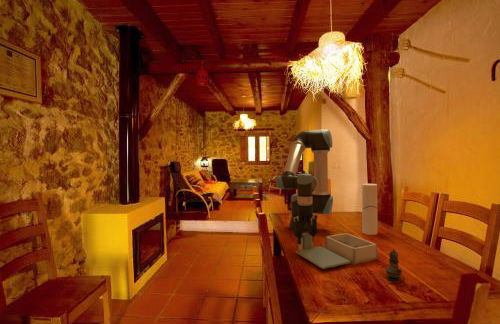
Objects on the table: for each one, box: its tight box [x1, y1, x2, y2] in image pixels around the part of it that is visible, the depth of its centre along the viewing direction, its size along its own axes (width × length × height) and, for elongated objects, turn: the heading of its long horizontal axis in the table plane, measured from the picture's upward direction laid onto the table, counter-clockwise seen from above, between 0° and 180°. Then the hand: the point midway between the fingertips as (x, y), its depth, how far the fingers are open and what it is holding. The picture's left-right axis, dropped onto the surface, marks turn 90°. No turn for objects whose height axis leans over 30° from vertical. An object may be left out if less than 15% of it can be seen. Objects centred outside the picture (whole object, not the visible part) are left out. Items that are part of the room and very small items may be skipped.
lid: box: [295, 232, 351, 270], centre depth 128 cm, size 26×15×9 cm, turn 22°
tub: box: [324, 232, 378, 265], centre depth 132 cm, size 20×14×7 cm
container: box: [361, 183, 379, 236], centre depth 166 cm, size 9×9×30 cm
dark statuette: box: [385, 248, 403, 283], centre depth 106 cm, size 6×6×12 cm
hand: (305, 249), depth 138 cm, fingers open, 5 cm apart
